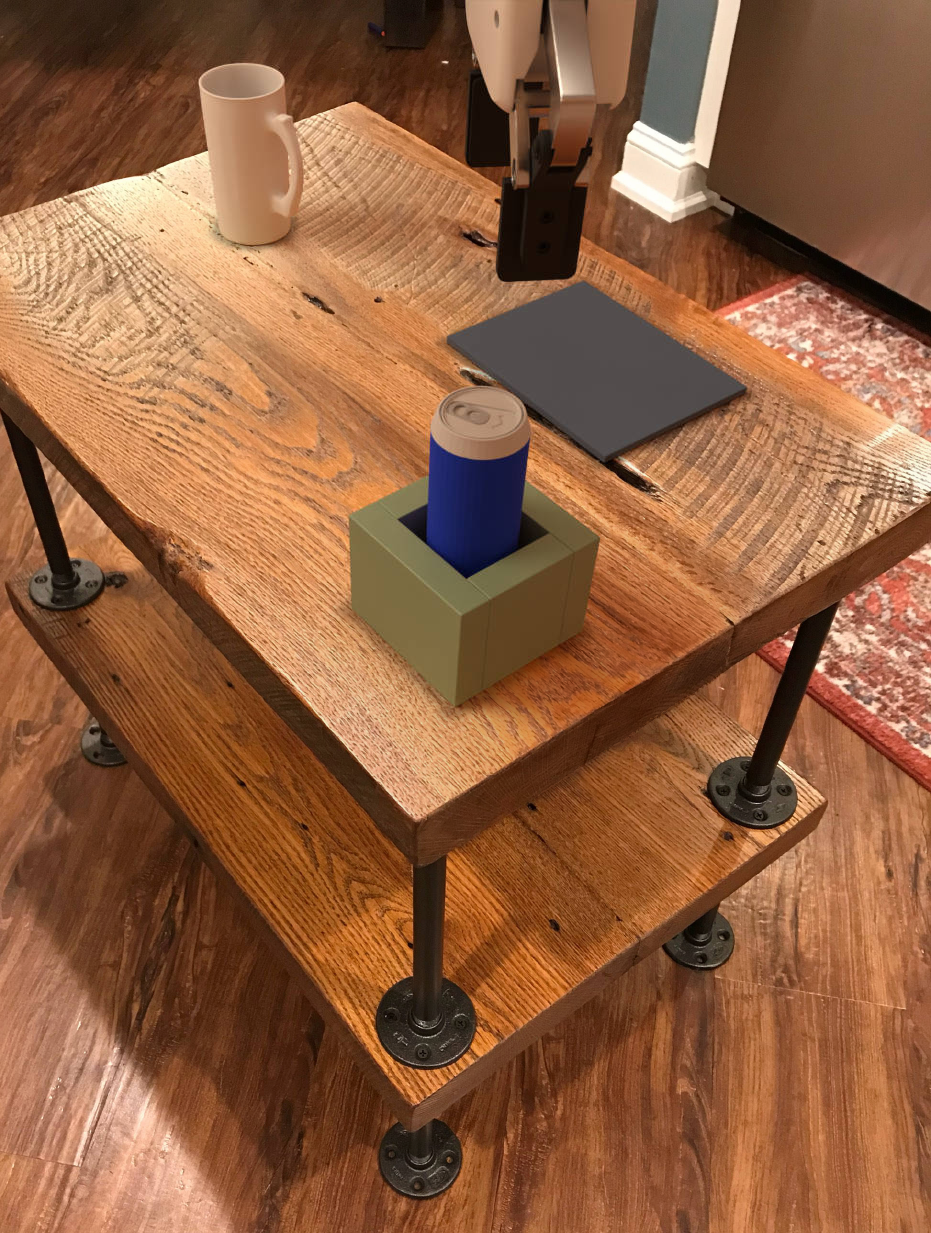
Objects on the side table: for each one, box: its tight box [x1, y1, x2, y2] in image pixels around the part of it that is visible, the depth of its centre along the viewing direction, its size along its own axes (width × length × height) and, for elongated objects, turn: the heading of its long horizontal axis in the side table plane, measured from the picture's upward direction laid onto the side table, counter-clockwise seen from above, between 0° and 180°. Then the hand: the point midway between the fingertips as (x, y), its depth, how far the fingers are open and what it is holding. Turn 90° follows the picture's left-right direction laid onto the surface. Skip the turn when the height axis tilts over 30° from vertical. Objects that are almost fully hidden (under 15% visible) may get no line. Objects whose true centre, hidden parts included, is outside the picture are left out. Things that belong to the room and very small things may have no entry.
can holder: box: [348, 474, 601, 708], centre depth 67 cm, size 10×10×8 cm
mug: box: [198, 62, 305, 246], centre depth 94 cm, size 10×7×12 cm, turn 44°
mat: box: [446, 279, 748, 464], centre depth 86 cm, size 18×14×1 cm
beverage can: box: [426, 385, 532, 579], centre depth 64 cm, size 5×5×15 cm
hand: (516, 216), depth 49 cm, fingers open, 9 cm apart
